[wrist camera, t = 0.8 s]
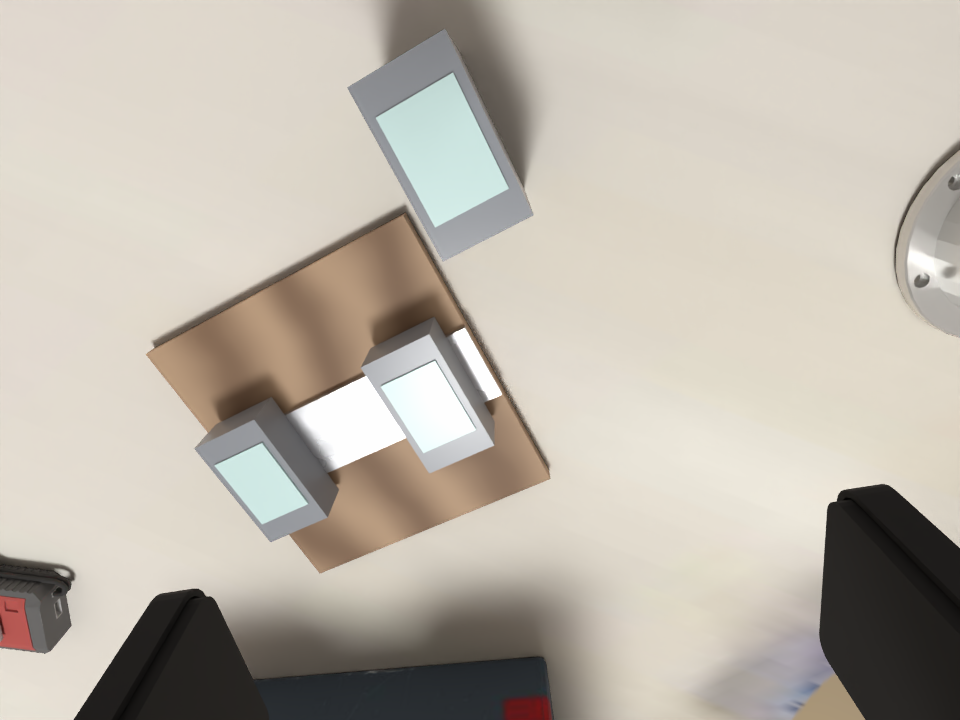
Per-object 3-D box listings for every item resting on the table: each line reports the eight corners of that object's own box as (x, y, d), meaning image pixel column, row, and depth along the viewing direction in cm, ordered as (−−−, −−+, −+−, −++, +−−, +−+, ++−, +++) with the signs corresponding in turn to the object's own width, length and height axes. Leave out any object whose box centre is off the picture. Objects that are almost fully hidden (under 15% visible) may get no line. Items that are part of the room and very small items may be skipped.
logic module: (458, 50, 31) (444, 28, 23) (524, 189, 34) (533, 215, 25) (385, 93, 32) (346, 87, 23) (455, 225, 35) (442, 262, 26)
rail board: (405, 212, 34) (392, 227, 30) (549, 470, 41) (555, 512, 37) (154, 348, 38) (111, 378, 34) (323, 563, 45) (305, 611, 41)
